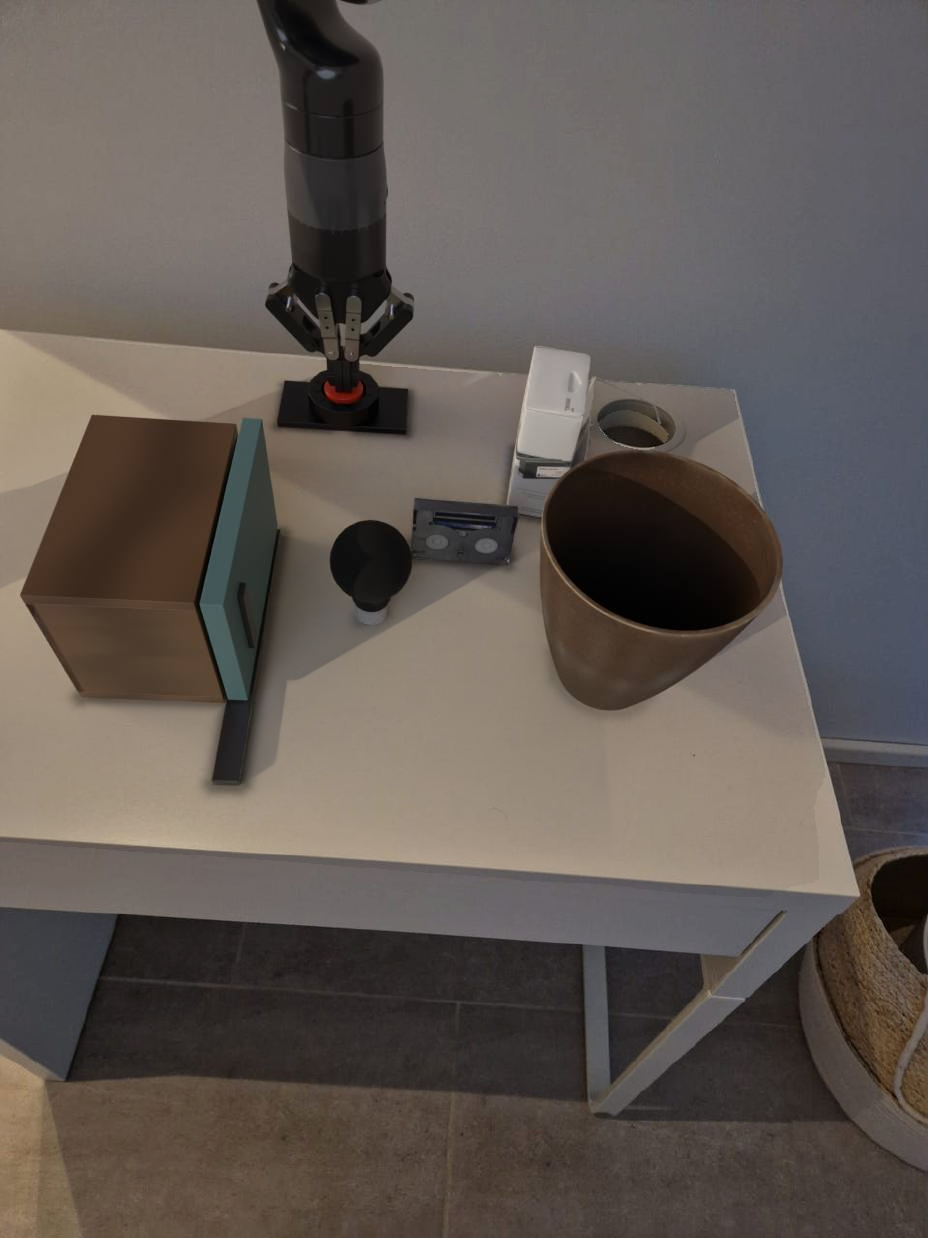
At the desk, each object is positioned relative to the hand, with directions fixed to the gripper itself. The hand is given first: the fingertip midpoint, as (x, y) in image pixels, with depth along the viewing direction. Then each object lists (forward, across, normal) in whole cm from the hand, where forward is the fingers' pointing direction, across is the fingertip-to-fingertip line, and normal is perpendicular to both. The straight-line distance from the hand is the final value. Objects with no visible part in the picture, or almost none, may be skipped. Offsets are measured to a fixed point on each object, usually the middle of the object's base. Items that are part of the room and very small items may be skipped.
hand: (344, 386), depth 74 cm
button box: (+3, 0, 0) cm, 3 cm away
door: (+2, -5, -24) cm, 25 cm away
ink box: (+3, +18, -8) cm, 20 cm away
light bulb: (+3, +4, -24) cm, 25 cm away
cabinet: (+3, -10, -28) cm, 29 cm away
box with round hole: (+3, +26, -4) cm, 26 cm away
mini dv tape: (+3, +11, -18) cm, 21 cm away
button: (+2, 0, 0) cm, 2 cm away
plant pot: (+3, +22, -28) cm, 36 cm away
